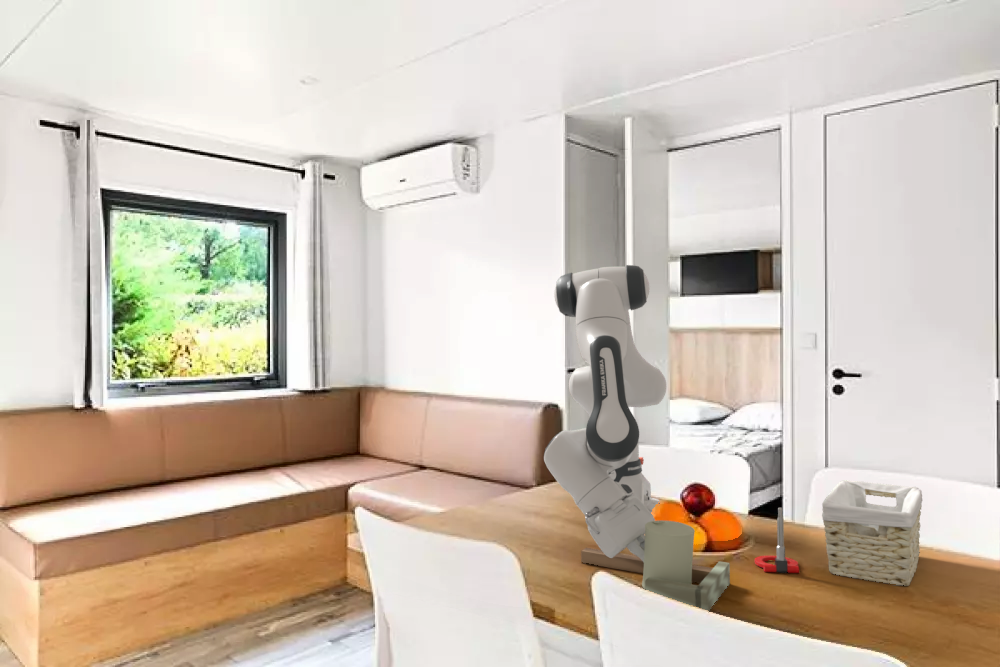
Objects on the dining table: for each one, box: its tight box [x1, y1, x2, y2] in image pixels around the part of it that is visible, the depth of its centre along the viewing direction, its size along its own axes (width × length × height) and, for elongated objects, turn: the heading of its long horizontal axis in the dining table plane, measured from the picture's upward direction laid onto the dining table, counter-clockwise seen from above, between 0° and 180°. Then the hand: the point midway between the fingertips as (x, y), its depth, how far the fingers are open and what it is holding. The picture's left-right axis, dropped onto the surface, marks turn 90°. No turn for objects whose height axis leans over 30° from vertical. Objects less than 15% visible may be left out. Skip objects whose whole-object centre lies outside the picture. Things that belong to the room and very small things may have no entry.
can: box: [641, 519, 696, 590], centre depth 135 cm, size 9×9×12 cm
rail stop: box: [580, 547, 731, 612], centre depth 138 cm, size 16×30×4 cm, turn 59°
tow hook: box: [754, 507, 800, 574], centre depth 147 cm, size 8×13×9 cm
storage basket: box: [821, 480, 923, 587], centre depth 146 cm, size 24×16×15 cm
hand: (651, 560), depth 137 cm, fingers closed, pressing on can
